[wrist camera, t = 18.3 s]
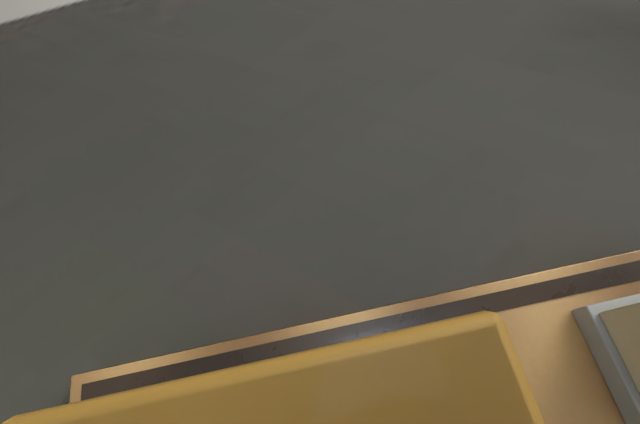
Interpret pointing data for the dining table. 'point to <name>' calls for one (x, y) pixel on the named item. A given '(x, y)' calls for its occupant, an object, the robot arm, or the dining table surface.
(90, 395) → the score rail
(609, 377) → the cream marker
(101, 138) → the dining table surface
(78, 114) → the dining table surface
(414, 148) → the dining table surface
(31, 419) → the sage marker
